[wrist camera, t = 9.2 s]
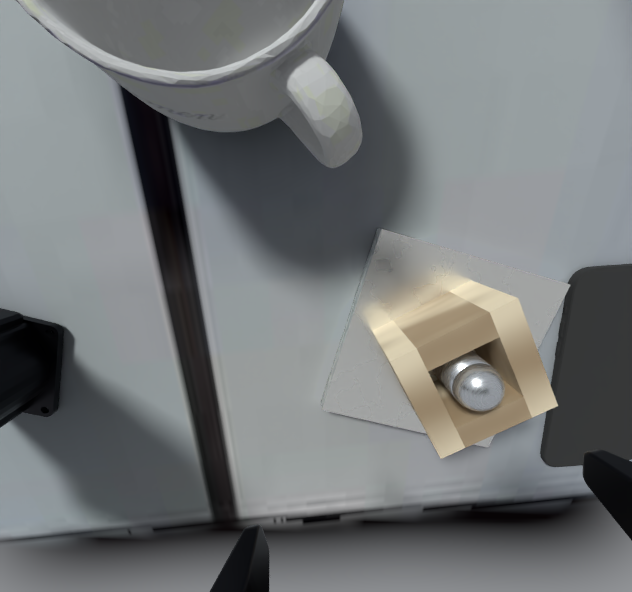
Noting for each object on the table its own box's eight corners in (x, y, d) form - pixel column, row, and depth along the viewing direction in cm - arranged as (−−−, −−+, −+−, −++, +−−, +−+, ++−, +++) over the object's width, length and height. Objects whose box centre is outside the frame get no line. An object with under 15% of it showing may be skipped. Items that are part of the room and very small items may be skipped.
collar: (506, 367, 19) (557, 405, 15) (414, 411, 20) (440, 458, 16) (471, 280, 17) (518, 298, 14) (371, 330, 18) (389, 361, 14)
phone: (541, 469, 22) (576, 269, 18) (532, 460, 23) (564, 267, 19) (639, 461, 22) (695, 261, 18) (627, 452, 23) (679, 259, 19)
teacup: (75, -34, 14) (-213, -346, 6) (278, -166, 13) (237, -725, 5) (228, 235, 17) (164, 250, 10) (397, 146, 16) (479, 83, 9)
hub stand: (479, 437, 21) (547, 522, 15) (321, 401, 20) (327, 477, 14) (556, 281, 19) (676, 311, 13) (377, 228, 17) (414, 233, 11)
